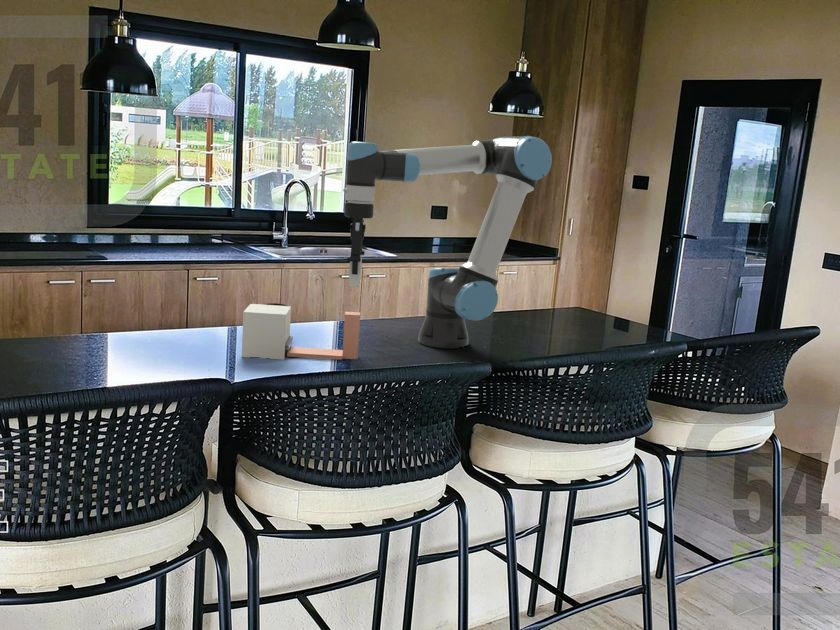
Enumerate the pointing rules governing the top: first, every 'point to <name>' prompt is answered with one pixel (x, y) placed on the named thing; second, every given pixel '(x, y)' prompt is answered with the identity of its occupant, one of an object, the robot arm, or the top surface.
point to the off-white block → (266, 331)
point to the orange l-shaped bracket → (347, 353)
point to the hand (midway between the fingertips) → (354, 282)
